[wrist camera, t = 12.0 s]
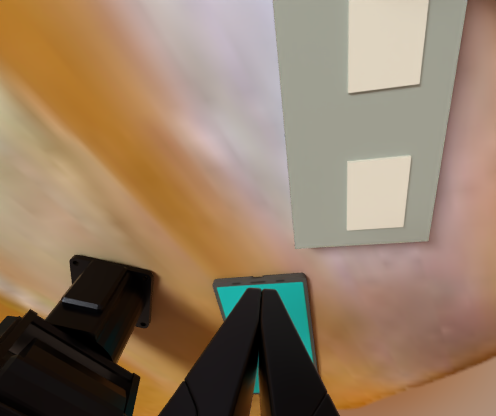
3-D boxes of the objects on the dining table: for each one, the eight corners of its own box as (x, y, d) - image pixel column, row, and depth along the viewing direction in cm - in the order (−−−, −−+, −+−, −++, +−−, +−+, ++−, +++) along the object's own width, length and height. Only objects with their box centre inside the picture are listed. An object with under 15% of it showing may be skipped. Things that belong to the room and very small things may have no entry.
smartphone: (306, 276, 23) (320, 394, 31) (305, 269, 24) (319, 385, 31) (210, 283, 25) (245, 394, 32) (212, 275, 25) (246, 386, 33)
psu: (417, 224, 21) (429, 243, 19) (294, 232, 22) (295, 250, 20) (458, -71, 13) (483, -85, 12) (270, -34, 15) (268, -41, 13)
